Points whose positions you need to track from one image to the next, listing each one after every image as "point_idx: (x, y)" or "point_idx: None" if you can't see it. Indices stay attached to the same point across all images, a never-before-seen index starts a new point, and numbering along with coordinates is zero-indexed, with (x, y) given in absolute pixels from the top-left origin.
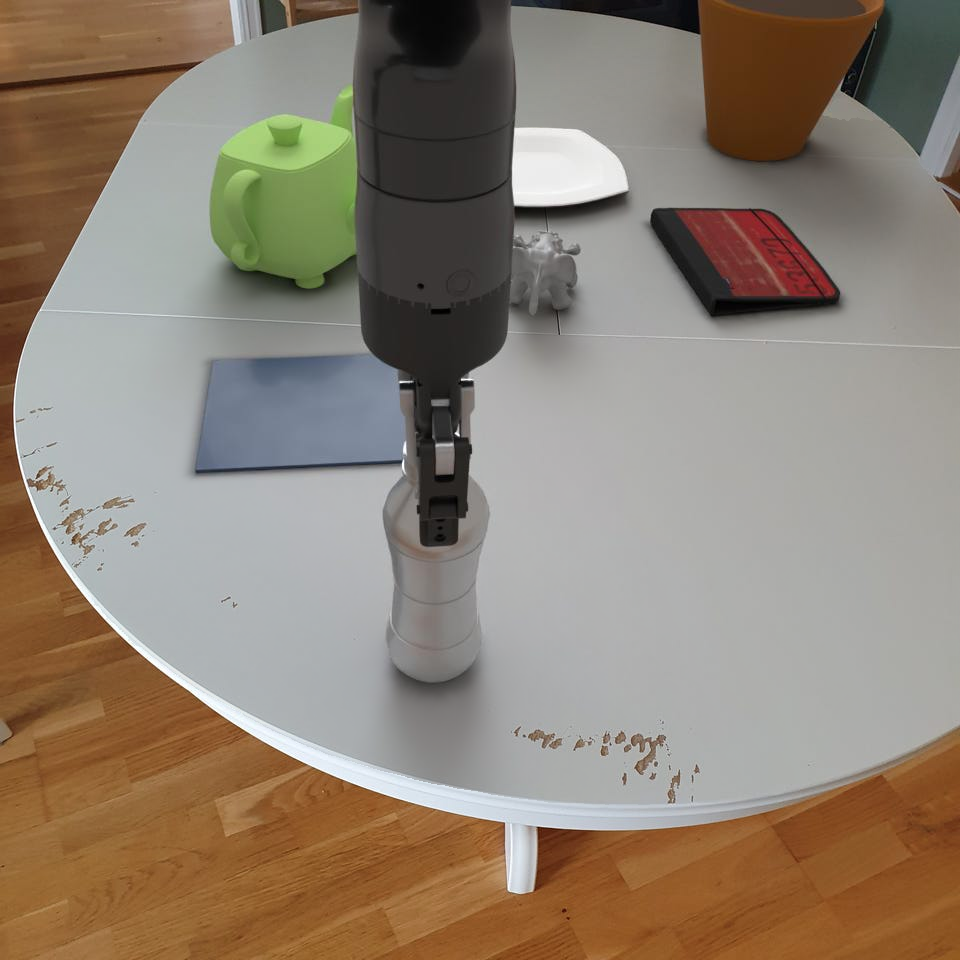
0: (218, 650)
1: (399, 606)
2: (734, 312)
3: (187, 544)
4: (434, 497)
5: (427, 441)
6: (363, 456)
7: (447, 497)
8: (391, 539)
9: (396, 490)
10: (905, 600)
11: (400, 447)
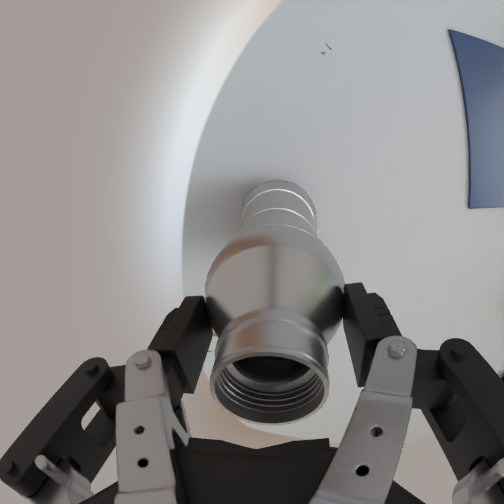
0: (276, 48)
1: (254, 208)
2: (502, 379)
3: (380, 19)
4: (100, 398)
5: (13, 488)
6: (475, 157)
7: (107, 411)
8: (232, 240)
9: (268, 273)
10: (311, 430)
11: (481, 187)
